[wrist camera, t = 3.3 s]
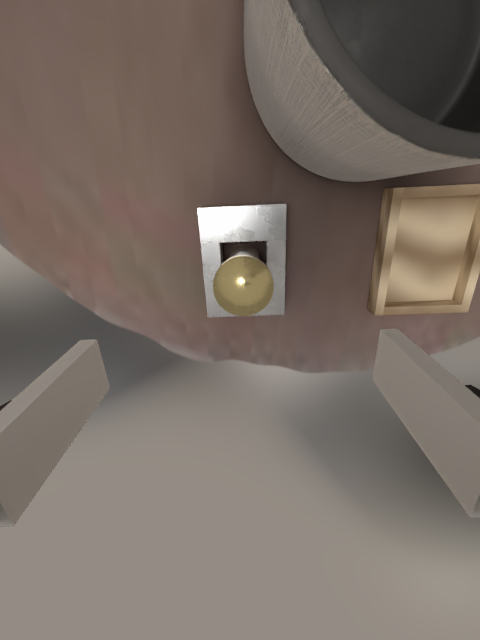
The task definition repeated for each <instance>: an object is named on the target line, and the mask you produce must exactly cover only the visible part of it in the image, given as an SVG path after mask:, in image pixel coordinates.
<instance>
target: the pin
mask: <svg viewBox="0 0 480 640" xmlns="http://www.w3.org/2000/svg"><path fill="white" fill-rule="evenodd" d="M273 291H274V283H273V278H272V275H271V272H270V270H269V269H268V267H267V266H266V265H265V264H264V263H263V262H262V261H261V260H260V259H259V254H258V252H257V250H256V249H255V248H254V247H253V246H252V245H250V244H246V243H243V244H239V245H236V246H235V247H234V248H233V249H232V250H231V252H230V255H229V259H227V260H226V261H225V262H223V263H222V264H221V266H220V267H219V268H218V270H217V272H216V274H215V277H214V280H213V293H214V297H215V299H216V301H217V302H218V304H219V305H220V306H221V307H222V308H223V309H224V310H225V311H227V312H229V313H231V314H233V315H237V316H250V315H253V314H256V313H258V312H260V311H261V310H263V309H264V308H265V307H266V306H267V305H268V303H269V302H270V300H271V298H272V295H273Z"/></svg>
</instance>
